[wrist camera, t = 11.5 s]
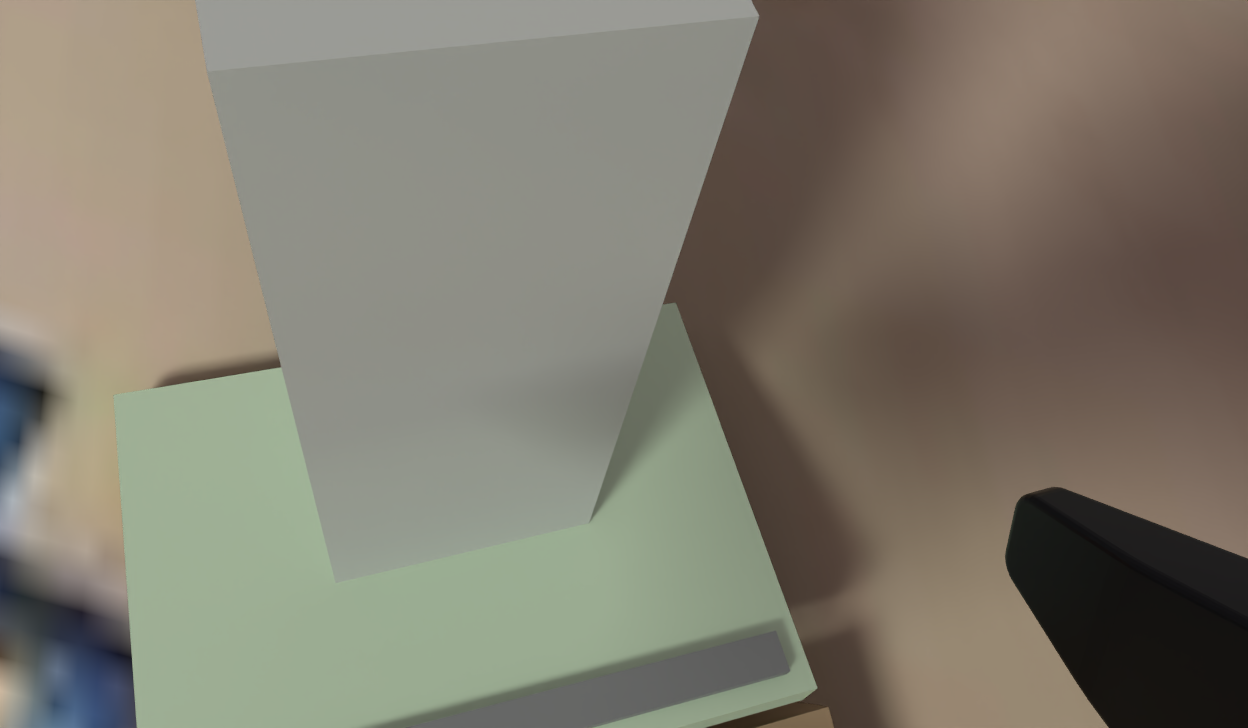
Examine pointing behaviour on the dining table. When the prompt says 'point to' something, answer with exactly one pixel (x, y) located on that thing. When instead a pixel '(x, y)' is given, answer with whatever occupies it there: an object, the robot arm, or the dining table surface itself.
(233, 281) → the dining table surface
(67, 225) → the dining table surface
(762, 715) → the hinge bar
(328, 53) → the block
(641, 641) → the trapdoor
